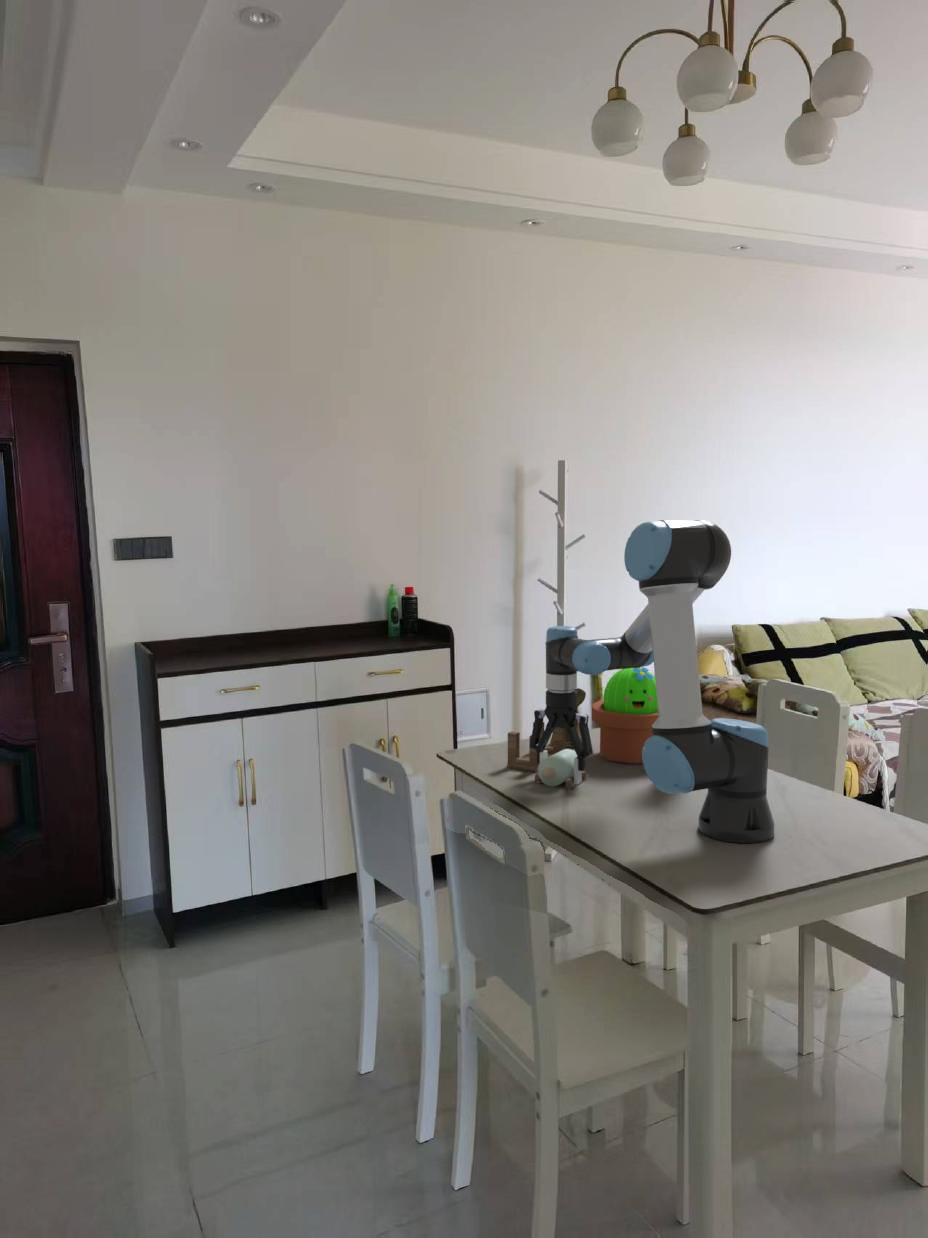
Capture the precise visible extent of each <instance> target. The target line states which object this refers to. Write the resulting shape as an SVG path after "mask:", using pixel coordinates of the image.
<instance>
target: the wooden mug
mask: <svg viewBox="0 0 928 1238" xmlns="http://www.w3.org/2000/svg"><path fill="white" fill-rule="evenodd" d="M575 691H576V692H577V705H576V710H577V712H578V714H580V711H579V709H578V708H579V706H580V705H581V704H583V702H584V701H585V699H586V697H587V696H586V695H587V694H586V693H587V692H586V691H584V689H581V688H579V687H577V688H576V689H575ZM574 723H575V725H576V730H577V733H578V735H579V738H580V740H581V735H580V729H579V723H578V720H577V719H575V721H574ZM581 742H582V740H581ZM549 744H550V745H549V746H551V747H554V730H553V732H552V734H551V737H550V741H549ZM565 749H574V747H573V745H572V742H571V740H570V737H569V735H568V733H567V732H566V743H565Z"/></svg>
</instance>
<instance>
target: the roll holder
mask: <svg viewBox="0 0 928 1238" xmlns="http://www.w3.org/2000/svg"><path fill="white" fill-rule="evenodd" d="M533 726H534V721H533V722H532V727H533ZM544 731H545V721H543V725H542V729H541V734H540V739H541V737H542V735H543V733H544ZM520 735H521V734H520V732H517V731H509V732H507V762H506V767H507V768H512V769H517V768H518V770H523V771H524V770H525V771H529V770H531V771H530V772H535V771H537V773H538V766H539V764H537V751H536V750H535V749H533V748H530V741H531V736H532V734H531V735H529V739H528V740H529V751H528V753H526V754H523V755H521V756H520V753H521V752H520V751H521V749H520V748H521V747H520V740H521V739H520V738H521V737H520ZM540 739H539V741H540ZM565 743H566V730H565V729H563V728H560V727H557V728H556V727H555V728H554V746H552V745H546V747H545V748H546V749H544V750H547V751H548V757H549V756H552V755H554V754H556V753H558V752H560V751H562V750H564V749H566V748H565Z"/></svg>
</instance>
